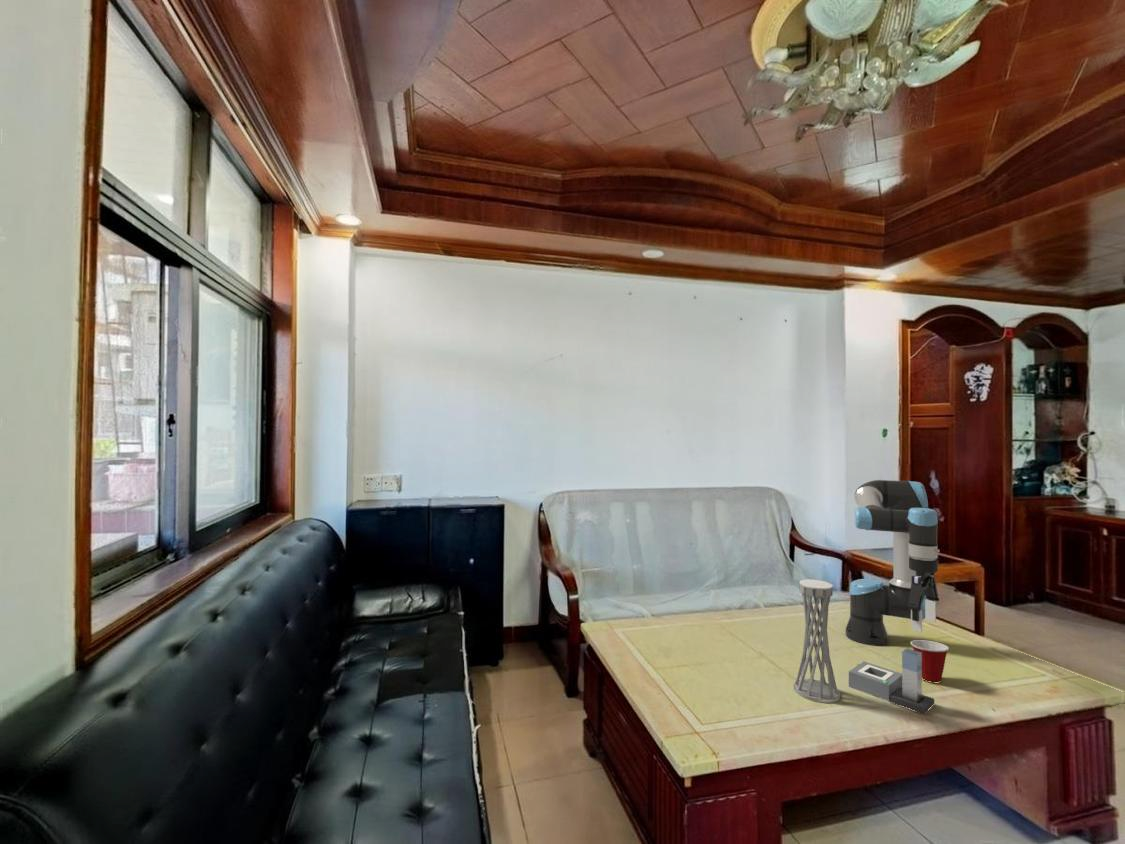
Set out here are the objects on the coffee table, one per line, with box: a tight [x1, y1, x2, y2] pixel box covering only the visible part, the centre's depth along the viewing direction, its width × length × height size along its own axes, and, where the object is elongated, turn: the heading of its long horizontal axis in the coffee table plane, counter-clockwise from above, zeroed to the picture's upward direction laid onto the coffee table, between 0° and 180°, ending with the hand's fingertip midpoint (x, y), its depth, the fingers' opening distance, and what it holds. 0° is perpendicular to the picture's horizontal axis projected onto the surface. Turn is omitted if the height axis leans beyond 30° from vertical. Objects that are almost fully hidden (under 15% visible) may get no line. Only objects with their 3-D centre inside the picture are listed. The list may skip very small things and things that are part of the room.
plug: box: [901, 648, 923, 704], centre depth 161 cm, size 4×4×15 cm
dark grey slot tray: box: [889, 687, 935, 715], centre depth 161 cm, size 9×9×2 cm
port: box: [848, 661, 902, 701], centre depth 171 cm, size 12×12×5 cm
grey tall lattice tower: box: [793, 578, 841, 704], centre depth 168 cm, size 14×13×35 cm
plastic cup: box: [910, 639, 950, 682], centre depth 177 cm, size 11×11×12 cm
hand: (923, 625), depth 163 cm, fingers open, 13 cm apart
